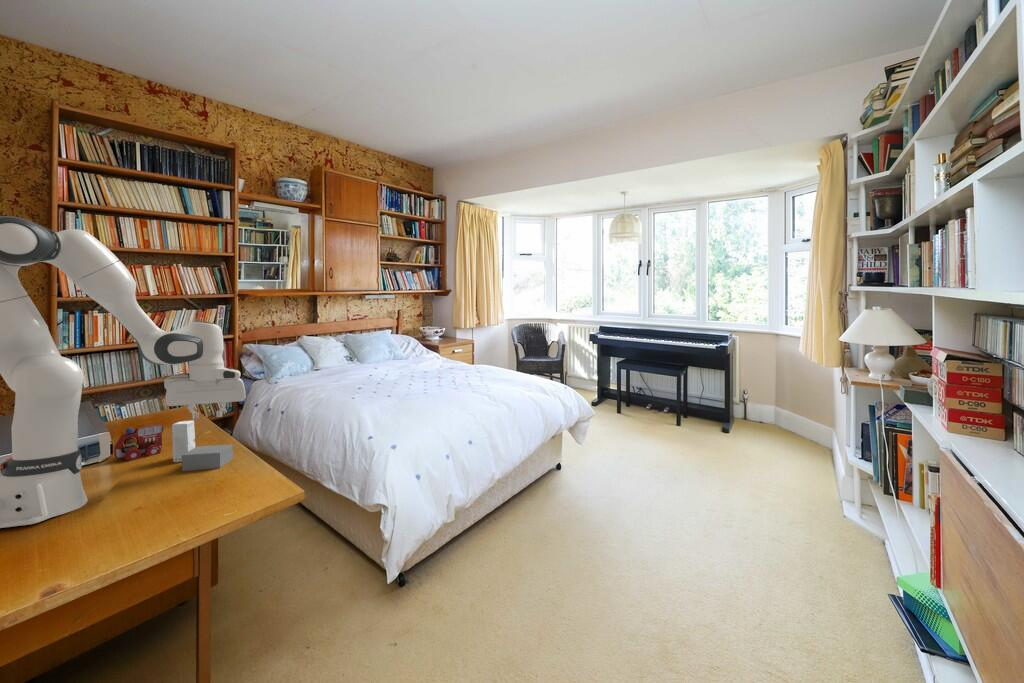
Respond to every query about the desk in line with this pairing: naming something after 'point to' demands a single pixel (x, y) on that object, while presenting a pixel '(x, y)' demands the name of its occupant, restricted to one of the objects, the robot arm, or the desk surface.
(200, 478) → the desk surface
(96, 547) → the desk surface
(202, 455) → the gray riser
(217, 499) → the desk surface
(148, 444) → the toy fire truck
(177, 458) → the skincare box
